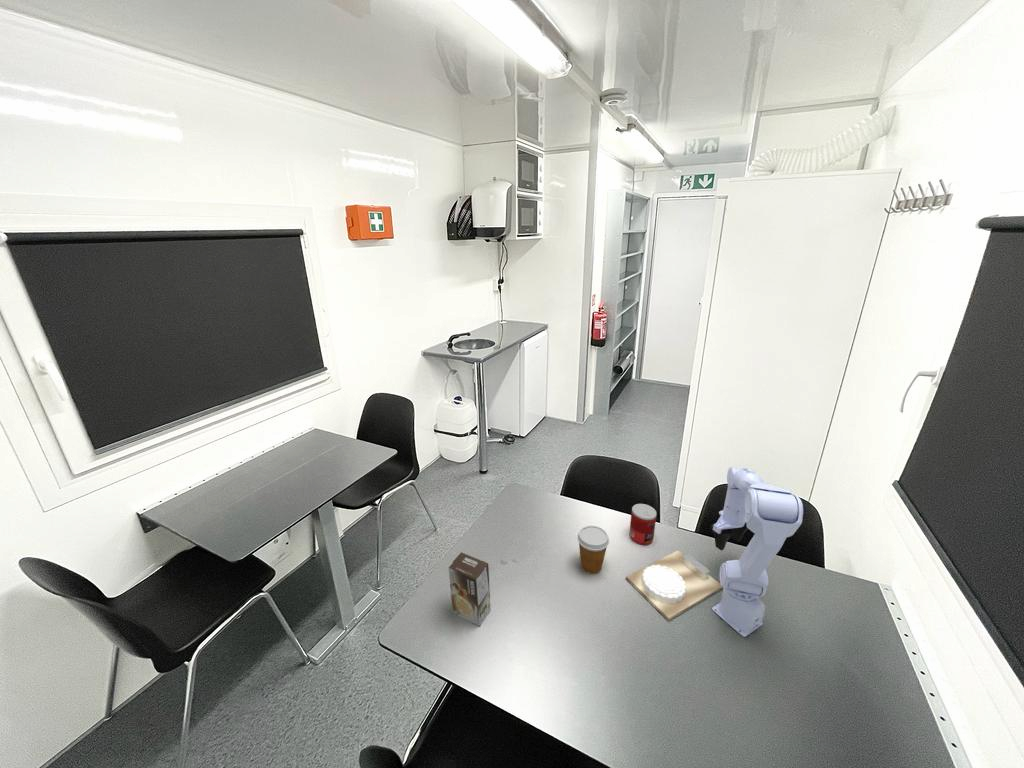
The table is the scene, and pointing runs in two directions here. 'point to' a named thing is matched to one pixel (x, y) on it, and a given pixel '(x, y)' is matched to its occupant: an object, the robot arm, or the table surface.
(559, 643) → the table surface
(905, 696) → the table surface
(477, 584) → the coffee box
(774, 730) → the table surface
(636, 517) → the canned food
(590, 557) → the disposable coffee cup
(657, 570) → the mooncake
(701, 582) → the wooden cutting board
